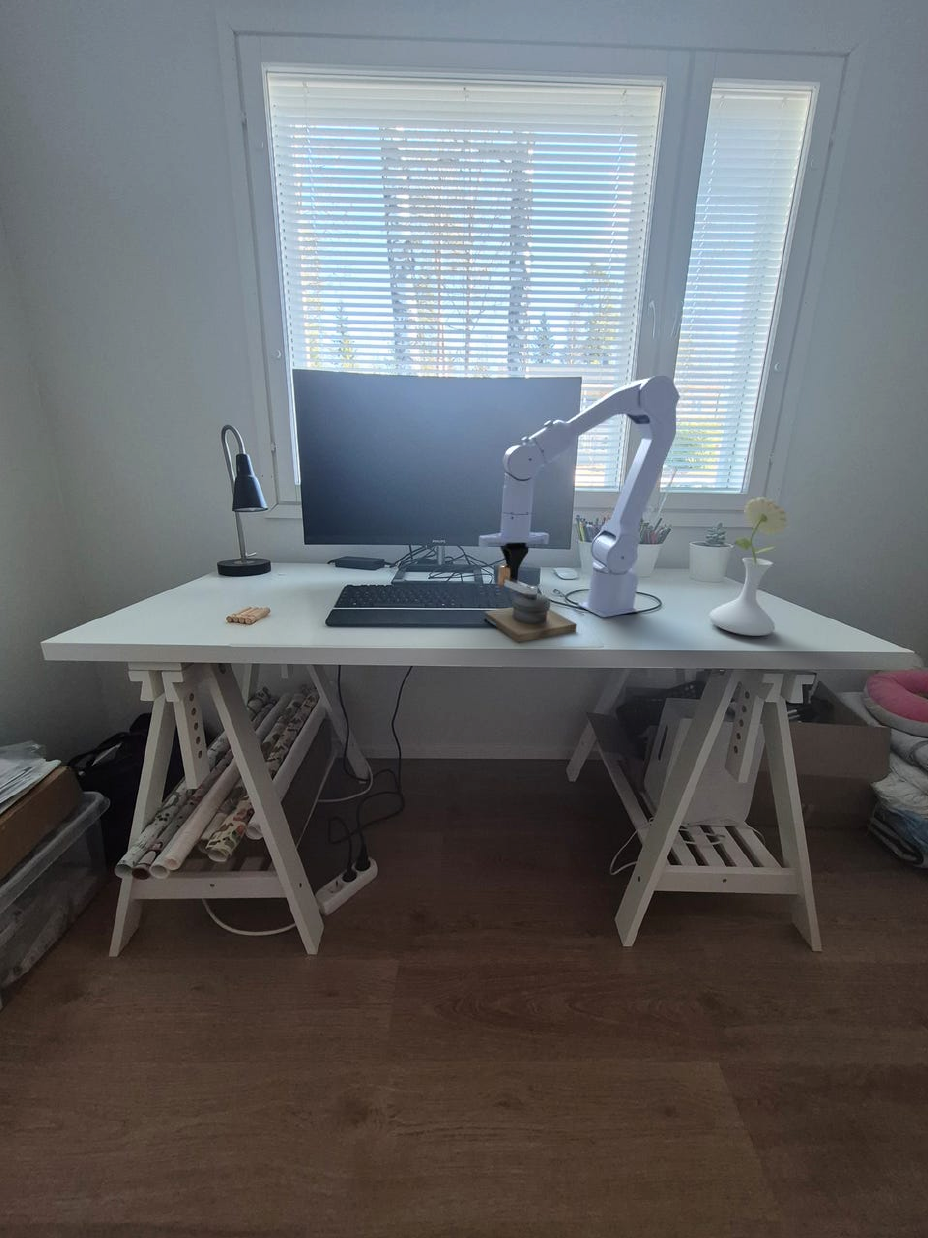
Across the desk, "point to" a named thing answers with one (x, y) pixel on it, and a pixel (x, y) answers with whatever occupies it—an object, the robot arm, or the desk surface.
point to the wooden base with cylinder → (530, 619)
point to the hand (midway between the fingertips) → (511, 580)
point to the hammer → (515, 583)
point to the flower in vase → (752, 575)
